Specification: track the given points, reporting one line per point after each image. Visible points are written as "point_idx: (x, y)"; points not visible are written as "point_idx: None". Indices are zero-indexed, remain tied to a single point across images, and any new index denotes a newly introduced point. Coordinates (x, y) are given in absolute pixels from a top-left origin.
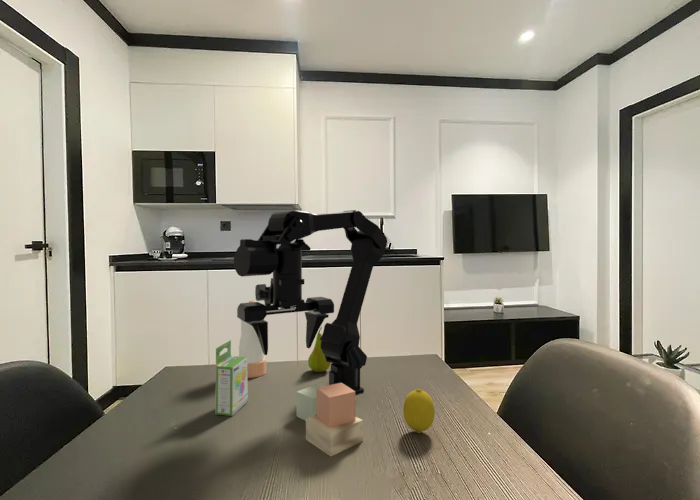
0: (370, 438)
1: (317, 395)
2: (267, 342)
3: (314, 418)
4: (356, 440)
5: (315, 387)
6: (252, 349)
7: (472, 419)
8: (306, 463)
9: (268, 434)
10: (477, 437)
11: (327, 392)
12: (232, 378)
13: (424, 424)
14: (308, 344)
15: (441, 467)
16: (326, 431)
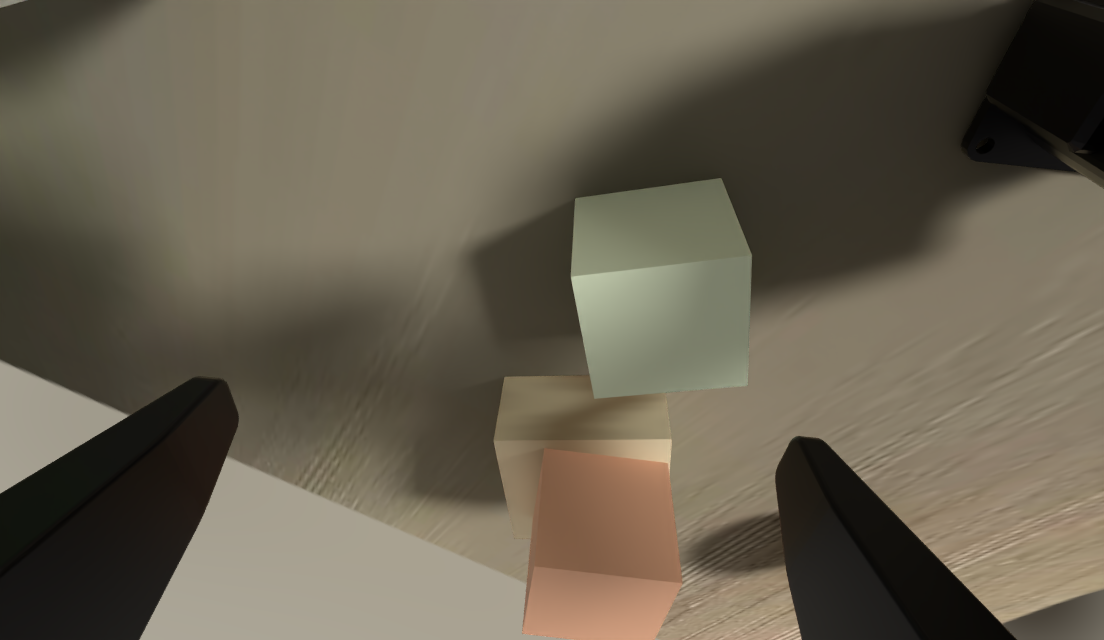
0: (691, 475)
1: (536, 537)
2: (147, 610)
3: (523, 457)
4: None
5: (714, 292)
6: None
7: (1044, 562)
8: (442, 462)
9: (383, 270)
10: None
11: (545, 609)
12: (5, 5)
13: None
14: (785, 516)
15: (712, 603)
16: (511, 523)
